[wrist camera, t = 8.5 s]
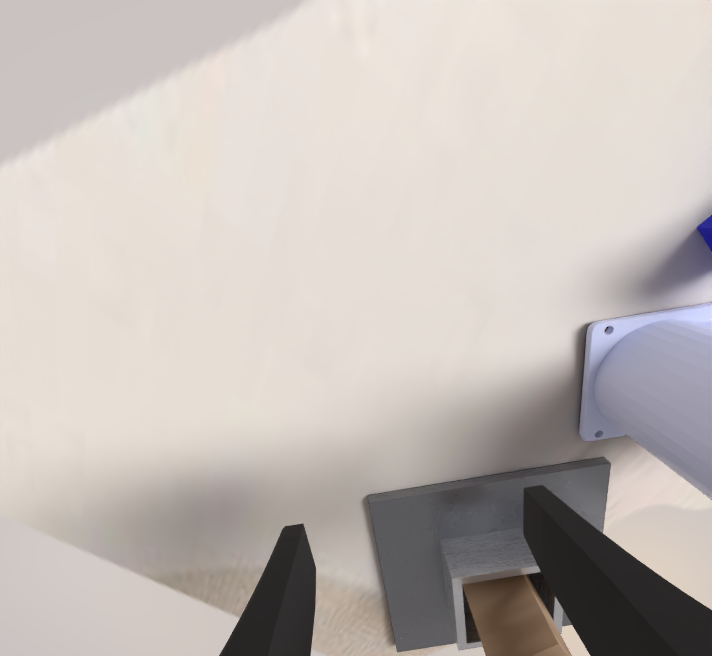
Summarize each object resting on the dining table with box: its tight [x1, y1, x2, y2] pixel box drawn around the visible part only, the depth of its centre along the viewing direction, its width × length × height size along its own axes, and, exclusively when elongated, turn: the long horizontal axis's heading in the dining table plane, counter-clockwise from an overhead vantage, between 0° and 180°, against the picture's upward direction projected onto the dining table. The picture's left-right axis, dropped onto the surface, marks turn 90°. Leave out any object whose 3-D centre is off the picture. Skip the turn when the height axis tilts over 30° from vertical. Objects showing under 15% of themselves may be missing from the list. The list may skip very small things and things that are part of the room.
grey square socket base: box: [368, 457, 611, 652], centre depth 23 cm, size 16×16×3 cm
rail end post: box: [462, 574, 572, 656], centre depth 21 cm, size 4×4×6 cm
